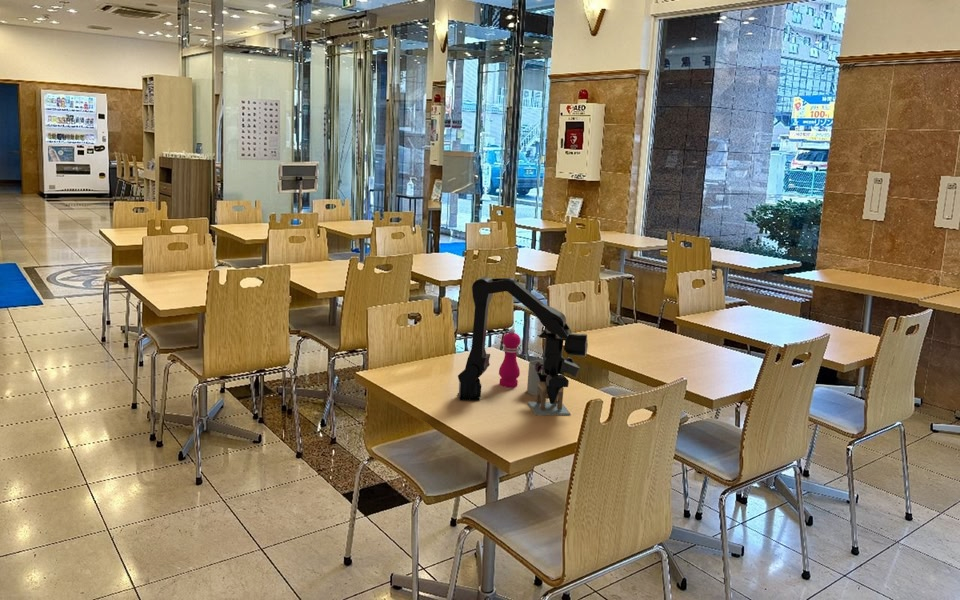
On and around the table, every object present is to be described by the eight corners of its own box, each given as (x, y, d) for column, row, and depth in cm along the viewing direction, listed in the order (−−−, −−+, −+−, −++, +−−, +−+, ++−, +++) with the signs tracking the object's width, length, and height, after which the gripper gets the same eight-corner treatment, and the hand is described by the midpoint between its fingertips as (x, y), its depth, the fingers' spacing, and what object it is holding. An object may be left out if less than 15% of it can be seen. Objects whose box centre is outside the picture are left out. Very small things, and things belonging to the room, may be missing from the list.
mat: (535, 415, 239) (536, 413, 239) (527, 403, 249) (528, 401, 249) (570, 415, 241) (570, 413, 240) (561, 403, 251) (561, 401, 251)
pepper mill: (498, 387, 264) (502, 330, 260) (497, 381, 271) (501, 325, 267) (519, 388, 264) (523, 331, 260) (518, 382, 271) (522, 326, 268)
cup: (536, 397, 256) (538, 368, 254) (521, 390, 263) (523, 361, 261) (556, 394, 261) (558, 365, 259) (541, 387, 267) (543, 359, 265)
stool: (541, 409, 241) (542, 388, 240) (536, 402, 247) (537, 381, 246) (561, 409, 242) (563, 388, 241) (556, 402, 249) (558, 382, 247)
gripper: (586, 361, 234) (582, 410, 237) (570, 345, 252) (566, 391, 255) (551, 360, 232) (547, 410, 235) (536, 344, 250) (533, 390, 253)
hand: (549, 400), depth 244 cm, fingers closed on stool, 6 cm apart
